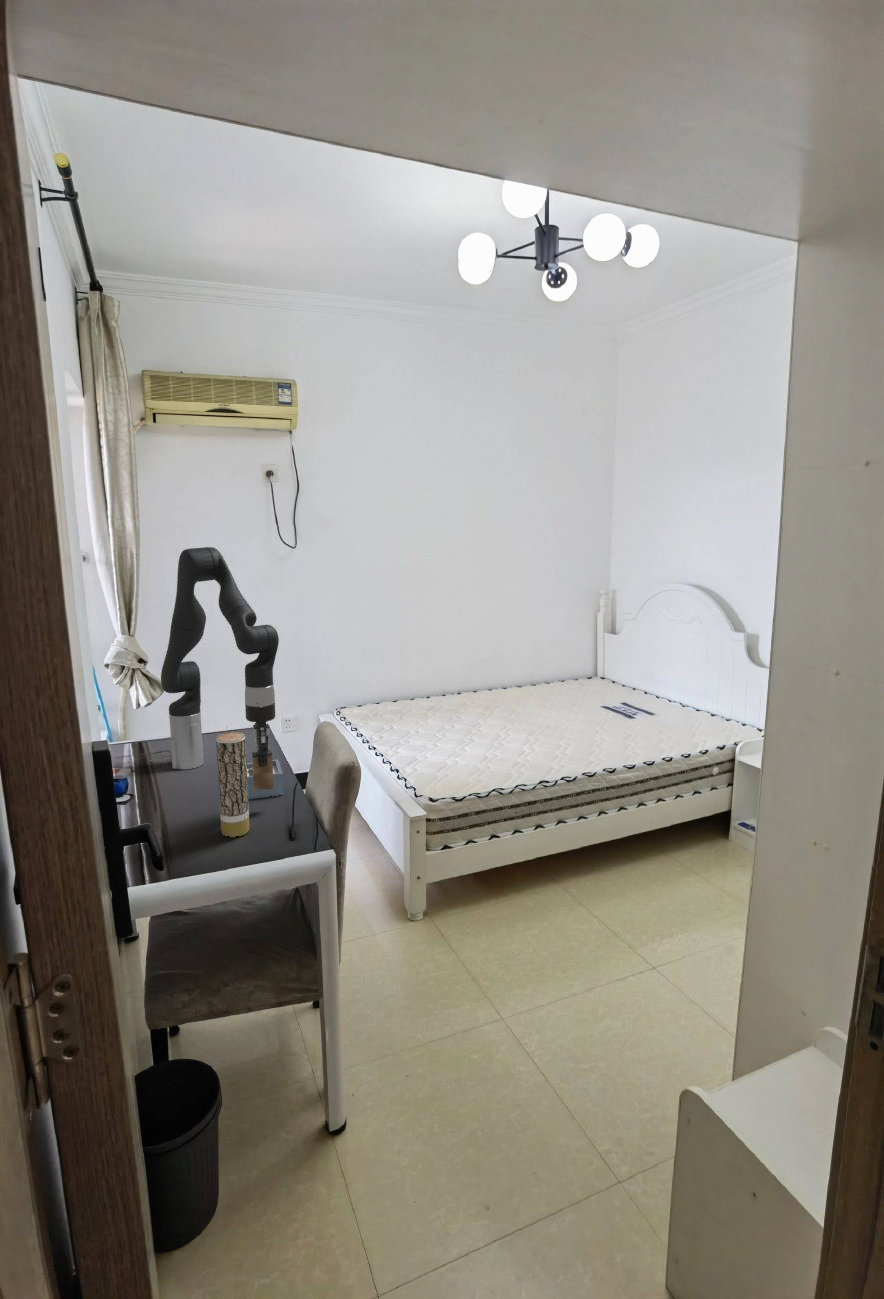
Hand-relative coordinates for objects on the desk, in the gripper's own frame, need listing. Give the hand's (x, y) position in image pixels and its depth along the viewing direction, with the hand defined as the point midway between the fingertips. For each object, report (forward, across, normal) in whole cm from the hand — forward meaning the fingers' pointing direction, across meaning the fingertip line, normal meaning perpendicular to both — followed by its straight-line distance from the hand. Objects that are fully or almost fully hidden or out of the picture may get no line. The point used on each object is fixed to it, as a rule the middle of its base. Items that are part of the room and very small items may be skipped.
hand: (262, 764), depth 181 cm
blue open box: (+13, -15, 0) cm, 20 cm away
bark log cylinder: (+13, +11, -8) cm, 19 cm away
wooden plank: (+7, 0, 0) cm, 7 cm away
